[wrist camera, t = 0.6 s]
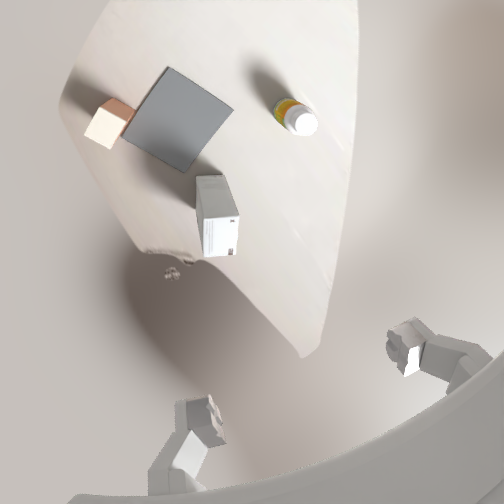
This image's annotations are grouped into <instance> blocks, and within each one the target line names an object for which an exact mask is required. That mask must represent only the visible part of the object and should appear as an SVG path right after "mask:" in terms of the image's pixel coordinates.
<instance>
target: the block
mask: <svg viewBox="0 0 504 504" xmlns="http://www.w3.org/2000/svg"><path fill="white" fill-rule="evenodd" d="M134 112H135V110H134V109H132V108H131V107H129V106H127V105H125V104H124V103H122V102H120V101H118V100H116V99H115V98H111V99H110V100H108V101H107V102H106V103H104V104H103V105H101V106H100V107H99V108H98V110H97V112H96V114H95V115H94V117H93V119H92V121H91V123H90V125H89V127H88V128H87V130H86V132H85V134H84V136H86V137H88V138H90V139H92V140H94V141H95V142H97V143H99V144H101V145H103V146H105V147H107V148H108V149H111V148H112V146H113V145H114V143H115V142H116V140H117V139H118V137H119V136H120V134H121V133H122V131H123V129H124V128H125V126H126V124H127V123H128V121H129V120H130V118H131V116H132V115H133V113H134Z"/></svg>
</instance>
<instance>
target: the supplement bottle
mask: <svg viewBox="0 0 504 504" xmlns="http://www.w3.org/2000/svg"><path fill="white" fill-rule="evenodd" d="M274 117H275V119H276V120H277V121H278V122H279V123H280V124H281V125H282V126H283V127H285V128H286V129H287V130H288V131H290V132H291V133H293V134H296V135H303V136H309V135H311V134H313V133H314V132H315V131H316V129H317V127H318V120H317V118H316V117H315V115H314V113H313V111H312V110H311V109H310V108H309V107H307V106H305V105H303V104H301V103H300V102H298V101H296V100H294V99H290V98H286V99H282V100H280V101H279V102H278V103H277V104H276V105H275V107H274Z"/></svg>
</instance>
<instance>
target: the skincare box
mask: <svg viewBox="0 0 504 504" xmlns="http://www.w3.org/2000/svg"><path fill="white" fill-rule="evenodd" d="M196 217H197V223H198V229H199V234H200V240H201V244H202V251H203V257H214V256H224V255H235V254H236V243H237V239H238V223H239V217H240V215H239V213H238V210H237V207H236V205H235V202H234V199H233V196H232V194H231V191H230V188H229V186H228V183H227V180H226V178H225V175H204V176H196Z"/></svg>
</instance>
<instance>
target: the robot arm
mask: <svg viewBox="0 0 504 504" xmlns="http://www.w3.org/2000/svg"><path fill="white" fill-rule="evenodd" d="M387 337H388V338H389V340H388V341H387V343H386V350H387V354H388V356H389V358H390V359H391V360H392V361H394V362H397V368H398V369H399V370H400V371H401V372H402V374H403V375H404V376H406V375H408V374H410V373H411V372H413V371H415V370H417V369H419V370H421V371H424V372H426V373H428V374H431V375H433V376H436V377H438V378H440V379H442V380H445V381H447V382H449V385H448V388H447V390H446V394H447V396H445V397H444V398H442V399H441V400H439V401H438V402H437V403H435V404H433V405H432V406H430V407H429V408H427V409H425V410H424V411H422V412H421V413H419V414H417V415H416V416H414V417H412V418H411V419H409V420H407V421H406V422H404V423H402V424H400V425H398V426H397V427H395V428H393V429H391V430H389V431H387V432H385V433H384V434H381V435H379V436H377V437H376V438H373V439H372V440H369V441H367V442H365V443H363V444H361V445H359V446H356V447H354V448H352V449H350V450H347V451H345V452H343V453H340V454H338V455H335V456H333V457H330V458H328V459H326V460H323V461H320V462H317V463H314V464H312V465H309V466H306V467H303V468H300V469H297V470H294V471H290V472H287V473H284V474H280V475H277V476H274V477H270V478H266V479H262V480H258V481H254V482H250V483H245V484H241V485H236V486H231V487H226V488H221V489H214V490H208V491H207V490H206V488H205V487H204V486H203V485H201V484H200V483H199V482H198V481H196V480H195V478H196V476H197V474H198V471H199V469H200V467H201V464H202V462H203V460H204V458H205V455H206V453H207V451H208V449H207V448H211V447H215V446H220V445H224V444H226V439H225V434H224V431H223V429H222V428H221V425H222V424H223V423H222V418H221V415H220V412H219V409H218V407H217V405H216V404H214V403H213V399H212V397H211V395H204V396H199V397H194V398H190V399H184V400H180V401H176V402H175V426H176V427H175V428H176V432H174V433H172V435H171V436H170V438H169V439H168V441H167V442H166V444H165V445H164V447H163V449H162V450H161V452H160V453H159V455H158V456H157V458H156V459H155V461H154V463H153V464H152V466H151V467H150V469H149V470H148V496H100V495H89V494H78V495H76V496H74V497H73V498H72V499H71V500H70V501H69V502H68V503H67V504H504V350H503V351H502V352H501V353H499V354H498V355H497V356H496V357H495V358H494V359H493V358H492V357H491V356H490V355H489V354H488V353H487V352H486V351H485V350H484V349H483V348H482V347H481V346H479V345H478V344H475V343H471V342H467V341H462V340H458V339H454V338H450V337H446V336H443V335H435V334H434V333H433V332H432V331H431V330H430V329H429V328H428V327H427V326H426V325H424V324H423V323H422V322H421V321H420V320H419V319H418V318H416V317H413V318H412V319H409V320H408V321H406V322H403V323H401V324H399V325H397V326H395V327H393V328H391V329H389V330H388V332H387Z"/></svg>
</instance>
